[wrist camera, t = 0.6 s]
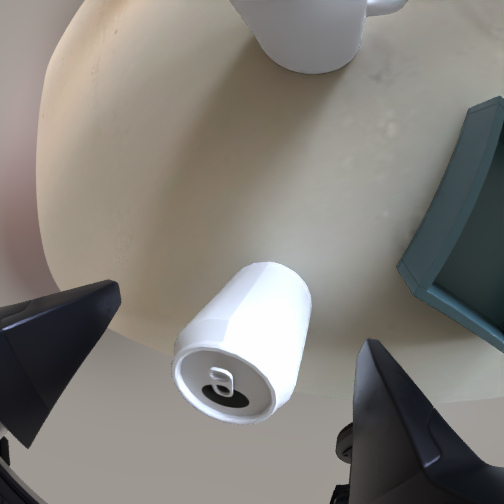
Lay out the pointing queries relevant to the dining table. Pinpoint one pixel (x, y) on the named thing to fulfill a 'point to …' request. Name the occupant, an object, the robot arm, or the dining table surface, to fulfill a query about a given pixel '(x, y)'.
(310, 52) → the mug
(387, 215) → the dining table surface
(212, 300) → the can
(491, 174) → the box
